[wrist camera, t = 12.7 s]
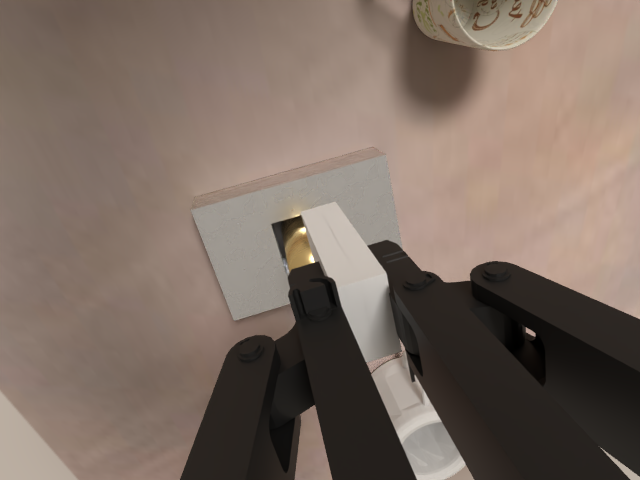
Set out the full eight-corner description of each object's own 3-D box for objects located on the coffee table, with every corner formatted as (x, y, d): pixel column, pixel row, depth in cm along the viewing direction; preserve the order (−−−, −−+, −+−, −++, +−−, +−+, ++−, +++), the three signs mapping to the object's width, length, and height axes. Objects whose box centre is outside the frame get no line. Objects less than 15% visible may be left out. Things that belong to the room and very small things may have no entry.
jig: (194, 197, 40) (190, 210, 37) (373, 146, 42) (385, 154, 38) (234, 300, 45) (234, 320, 42) (392, 252, 47) (405, 268, 43)
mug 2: (440, 409, 57) (479, 474, 48) (364, 428, 56) (388, 498, 47) (439, 327, 52) (482, 382, 43) (354, 345, 51) (380, 407, 41)
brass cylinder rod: (275, 217, 42) (282, 257, 33) (313, 205, 42) (331, 241, 33) (288, 252, 44) (298, 299, 35) (324, 239, 44) (344, 283, 35)
